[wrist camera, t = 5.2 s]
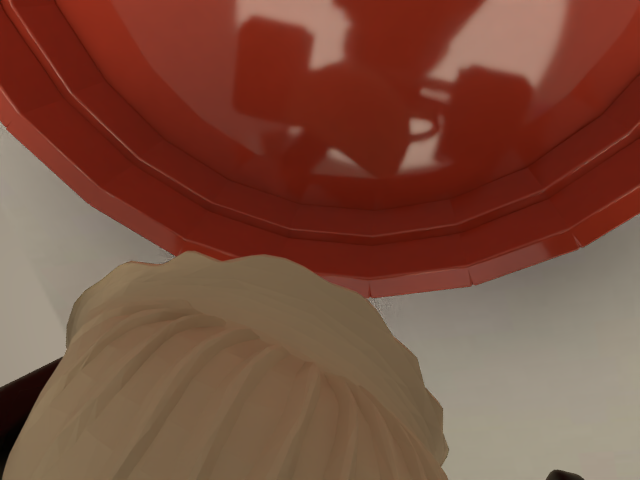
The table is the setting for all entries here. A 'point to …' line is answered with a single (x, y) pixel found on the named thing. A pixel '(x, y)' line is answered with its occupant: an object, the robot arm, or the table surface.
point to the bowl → (338, 127)
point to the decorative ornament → (229, 382)
